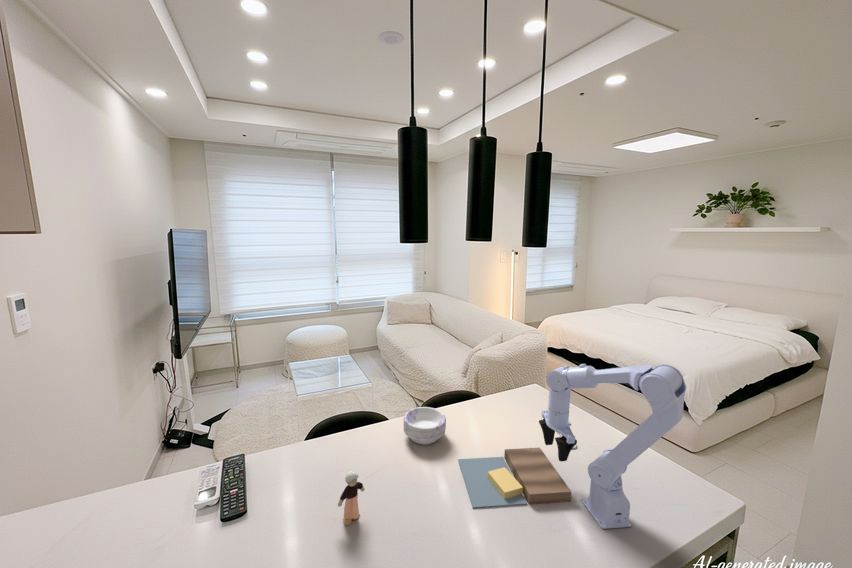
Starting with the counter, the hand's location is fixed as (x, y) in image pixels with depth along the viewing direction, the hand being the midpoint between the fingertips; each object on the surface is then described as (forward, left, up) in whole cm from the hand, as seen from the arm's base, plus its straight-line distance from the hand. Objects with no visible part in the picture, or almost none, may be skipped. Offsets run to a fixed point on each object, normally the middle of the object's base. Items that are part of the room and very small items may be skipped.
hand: (555, 452), depth 101 cm
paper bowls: (+26, +36, -10) cm, 45 cm away
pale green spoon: (+22, -14, -10) cm, 28 cm away
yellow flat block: (-1, +15, -9) cm, 18 cm away
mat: (+2, +19, -9) cm, 21 cm away
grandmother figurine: (-8, +58, -10) cm, 59 cm away
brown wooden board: (+2, +5, -9) cm, 11 cm away
